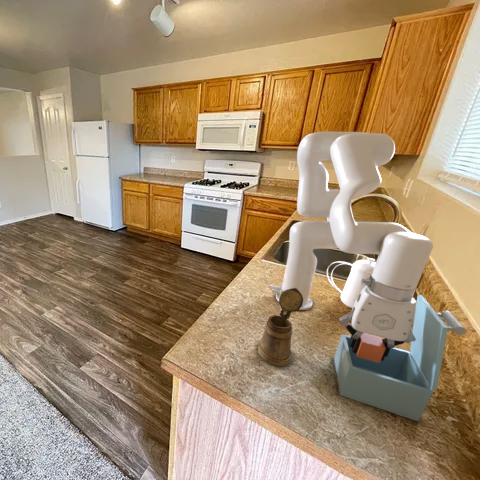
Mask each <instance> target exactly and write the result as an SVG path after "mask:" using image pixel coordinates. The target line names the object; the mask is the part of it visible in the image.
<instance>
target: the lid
mask: <svg viewBox="0 0 480 480" xmlns="http://www.w3.org/2000/svg"><path fill="white" fill-rule="evenodd" d="M442 319H443V320H444V321H445V322H444V321H443V320H442ZM411 332H412V333H413V335H414V337H415V338H416V340H415V341H412V342H410V348H409V351H410V352H411V353H412V355H413V356H414V358H415V360H416V362H417V364H418V366H419V368H420V370H421V371H422V373H423V375H424V377H425V379H426V381H427V383H428V385H429V386H430V388H431V390H432V391H433V392H437V390H438V385H439V380H440V375H441V371H442V370H441V368H442V364H443V359H444V353H445V348H446V341H447V336H448V332H453V333H454V334H455V335H460V336H463V335H465V334H467V329H466V328H465V326H464V325H463V324H462V323H461V321H459V320H458V319H457V317H456V316H455V315H454V314H453V313H452V312H451V311H450V310H442V311H441V312H436V311H435V310H434V308H433V307H432V305H431V304H430V303H429V302H428V301H427V299H426V298H425V297H424V296H423V294H417V296H416V310H415V315H414V320H413V324H412V331H411Z"/></svg>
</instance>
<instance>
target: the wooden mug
mask: <svg viewBox="0 0 480 480" xmlns="http://www.w3.org/2000/svg"><path fill="white" fill-rule="evenodd" d="M278 303H279V306H280V308H281V310H280V313H279V315H277V314H273V315H270V316H269V317H268V319H267V320H266V322H265V325H264V332H263V333H262V337H261V340H260V341H259V344H258V347H257V353H258V355H259V357H260V358H261V359H262V360H264V361H265V362H266V363H269V364H271V365H273V366H278V367H284V366H288V365H289V364H290V362H291V360H292V347H291V346H292V335H293V324H292V322H291V321H290V320H289V319H290V316H291V314H292V313H294V312H297V311H300V310H299V309H300V308H301V306H302V304H303V297H302V294H301V293H300V292H299V290H298V289H297V288H292V289H288V290H285V291H283V292H282V294H281V296H280V299H279V301H278Z"/></svg>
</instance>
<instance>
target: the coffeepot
mask: <svg viewBox="0 0 480 480" xmlns="http://www.w3.org/2000/svg"><path fill="white" fill-rule="evenodd" d="M338 263H339V264H338ZM333 264H334V265H335V264H337V265H335V268H337V267H340V266H342V265H348V266H350V267H351V268H350V272H349V275H348V277H347V279H346V282H345V284H344V287H343V289H342V290H341V289H340V288H339V287H338V286H337V285H336V284H335V282H334V279H333V273H334V270H335V268H332V270H331V273H330V276H329V269H330V266H332V265H333ZM375 264H376V259H375V258H372V257H367V259H357V260H356V261H355V262H353V263H350V262H347V261H343V260H342V261H341V260H338V261H334V262H331V263H330V266H327V268H326V278H327V281H328V282H329V284H330V285H331V286H332V287H333V288H334V289H335V290H336V291H338V292H339V294H340V295H339V296H340V301H341V302H342V303H343V304H344V306H346V307H348V308H350V309H352V308H353V306H354V303H355V301H356V299H357V297H358V295H359V294H360V292H361V291H362V289H363V288H364V286H367V285H365V284H362V283H361V281H362V278H365V279H366V278H369V277H370V275H372V272H373V269H374V267H375Z"/></svg>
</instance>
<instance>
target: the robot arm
mask: <svg viewBox="0 0 480 480" xmlns="http://www.w3.org/2000/svg"><path fill="white" fill-rule="evenodd" d="M395 145H396V144H395V141H394V140H393V138H392V137H391V136H390V135H388V134H386V133H378V132H377V133H375V132H365V131H363V132H362V131H317V132H311V133H308V134H307V135H305V136H304V137H303V138H302V139H301V141H300V142H299V144H298V147H297V152H296V163H297V168H298V174H299V175H298V176H299V179H298V180H299V181H298V186H297V187H298V188H297V198H296V199H297V200H296V210H297V213H298V215H300V216H301V217H306V218H326V221H325V220H324V221H320V220H302V221H297V222H295V223H294V224H292V226H290V229H289V233H288V234H289V236H288V238H289V241H288V242H289V244H288V245H289V247H288V253H287V254H288V255H287V260H286V265H285V270H284V276H283V280H282V284H281V285H273V284H269V285H268V290H270V291H271V293H272V294H275V299H276V300H277V302H279V299H280V296H281V294H282V292H283V291H285V290H288V289H292V288H297V289H298V290H299V292H300V293H301V294H302V297H303V304H302V306H301V308H300V309H299V310H298V311H306V310H309V309H311V308H312V307H313V299H312V298H310V295H311V291H312V286H313V283H314V279H315V274H316V270H317V266H318V258H317V255H316V254H315V253H314V250H319V249H320V250H322V249H324V250H337V249H339V250H340V251H341V252H343V253H346V254H350V255H351V254H352V255H353V254H354V255H377V258H376V260H375V262H376V264H375V267H374V269H373V272H372V275H370V277H369V278H366V279H365V278H362V281H361V283H362V284H365V285H367V286H364V288H363V289H362V291H361V292H360V294H359V295H358V297H357V299H356V301H355V303H354V306H353V308H351V310H350V311H349V312H347V313H345V314H343V315H342V316H339V318H338V321H339V323H340V325H342V326H343V327H344V328H345V329H346V330H347V331H348V332H349V334H350V336H351V338H350V341H349V346H350V347H351V348H352V352H353V353H357V350H358V348H359V345H360V342H361V341H360V336H361V335H362V334H363V333H367V334H371V335H375V336H379V337H381V338H382V341H383V343H384V345H385V348H386V349H385V351H384V354H383V356H382V359H381V361H383V360H384V358H385V356H386V357H387V356H388V354H389V351H390V349H392V348H395V347H396V346H400V345H403V344H404V343H411V342H412V341H415V340H416V338H415V337H414V335H413V333H412V332H413V331H412V328H413V325H414V317H415V310H416V303H417V300H416V299H415V298H414V295H415V293H416V290H417V288H418V286H419V285H418V284H419V282H420V280H421V277H422V275H423V273H424V270H425V268H426V265H427V263H428V260H429V258H430V256H431V254H432V251H433V248H434V244H433V241H432V240H431V239H430V238H428V237H426V236H424V235H421V234H417V233H414V232H412V231H410V230H409V229H408V228H407V227H405V226H403V225H401V224H400V223H396V222H391V221H389V222H388V221H387V222H386V221H381V222H380V221H356V220H355V218H354V215H353V210H352V201H353V200H357V199H359V198H362V197H364V196H366V195H369V194H371V193H372V192H373V193H374V191H376V190H377V189H378V188H379V187H380V186H381V184H382V177H381V174H380V171H379V169H378V167H381V166H384V165H386V164H388V163H389V162H390V161H391V160H392V158H393V157H394V155H395V151H396V146H395ZM322 161H325V162H326V161H327V162H329V161H330V162H332V166H333V170H334V172H335V176H336V179H337V183H338V186H339V189H337V188H329V187H328V185H329V184H328V183H329V173H328V170H327V167H326V166H325V165H324V163H323V162H322Z"/></svg>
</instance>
